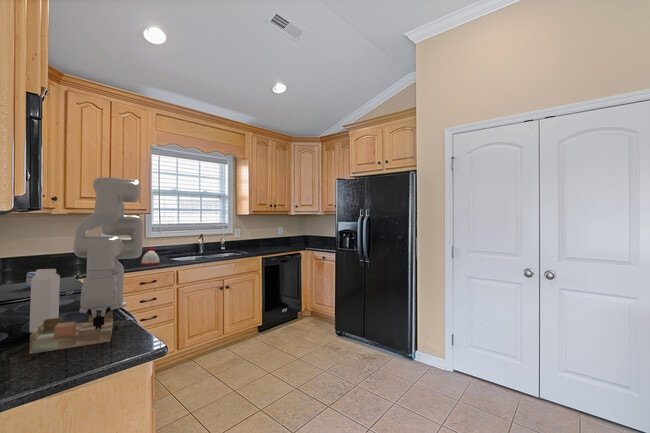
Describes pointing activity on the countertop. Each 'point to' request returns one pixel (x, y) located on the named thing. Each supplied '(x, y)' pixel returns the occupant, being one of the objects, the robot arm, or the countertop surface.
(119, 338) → the countertop surface
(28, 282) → the medicine box
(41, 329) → the wooden cubby shelf
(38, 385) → the countertop surface
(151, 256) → the kitchen timer
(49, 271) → the milk
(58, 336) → the block
